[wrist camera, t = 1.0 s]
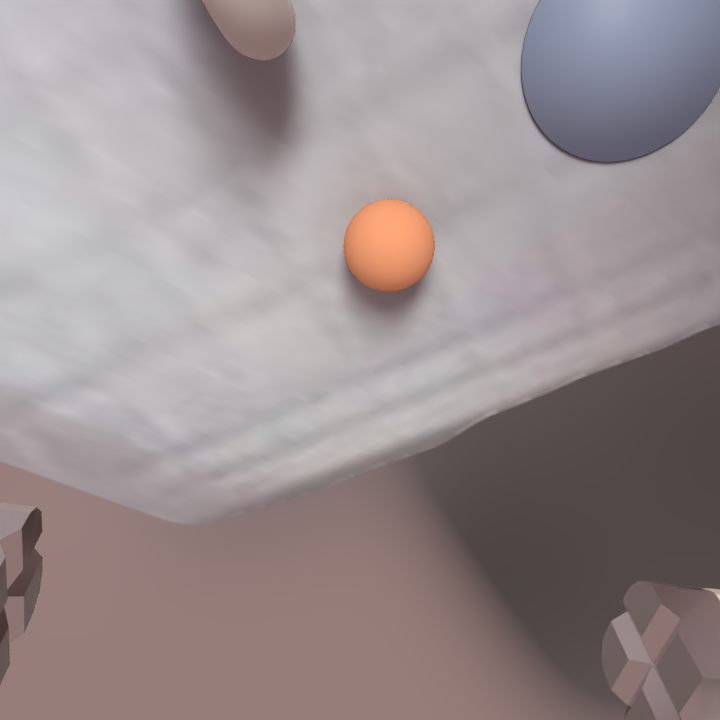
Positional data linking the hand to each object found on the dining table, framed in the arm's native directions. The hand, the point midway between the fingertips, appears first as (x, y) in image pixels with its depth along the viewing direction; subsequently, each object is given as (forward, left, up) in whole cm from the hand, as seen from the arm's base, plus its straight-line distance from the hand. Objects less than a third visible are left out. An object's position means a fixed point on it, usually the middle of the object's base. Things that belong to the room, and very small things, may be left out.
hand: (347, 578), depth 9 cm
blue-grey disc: (-15, +8, -35) cm, 39 cm away
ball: (+2, +8, -33) cm, 33 cm away
